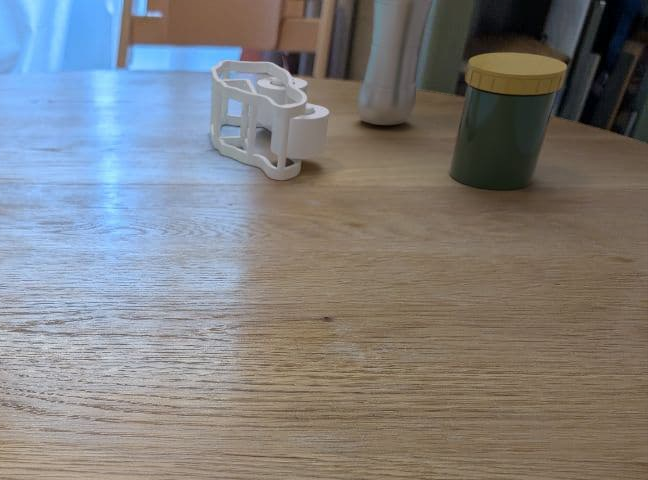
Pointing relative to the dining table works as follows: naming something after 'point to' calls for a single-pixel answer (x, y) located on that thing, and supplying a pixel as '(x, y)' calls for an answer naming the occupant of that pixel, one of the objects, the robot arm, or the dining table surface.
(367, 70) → the plastic bottle
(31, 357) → the dining table surface
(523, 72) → the lid
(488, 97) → the green jar
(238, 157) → the car outline toy
